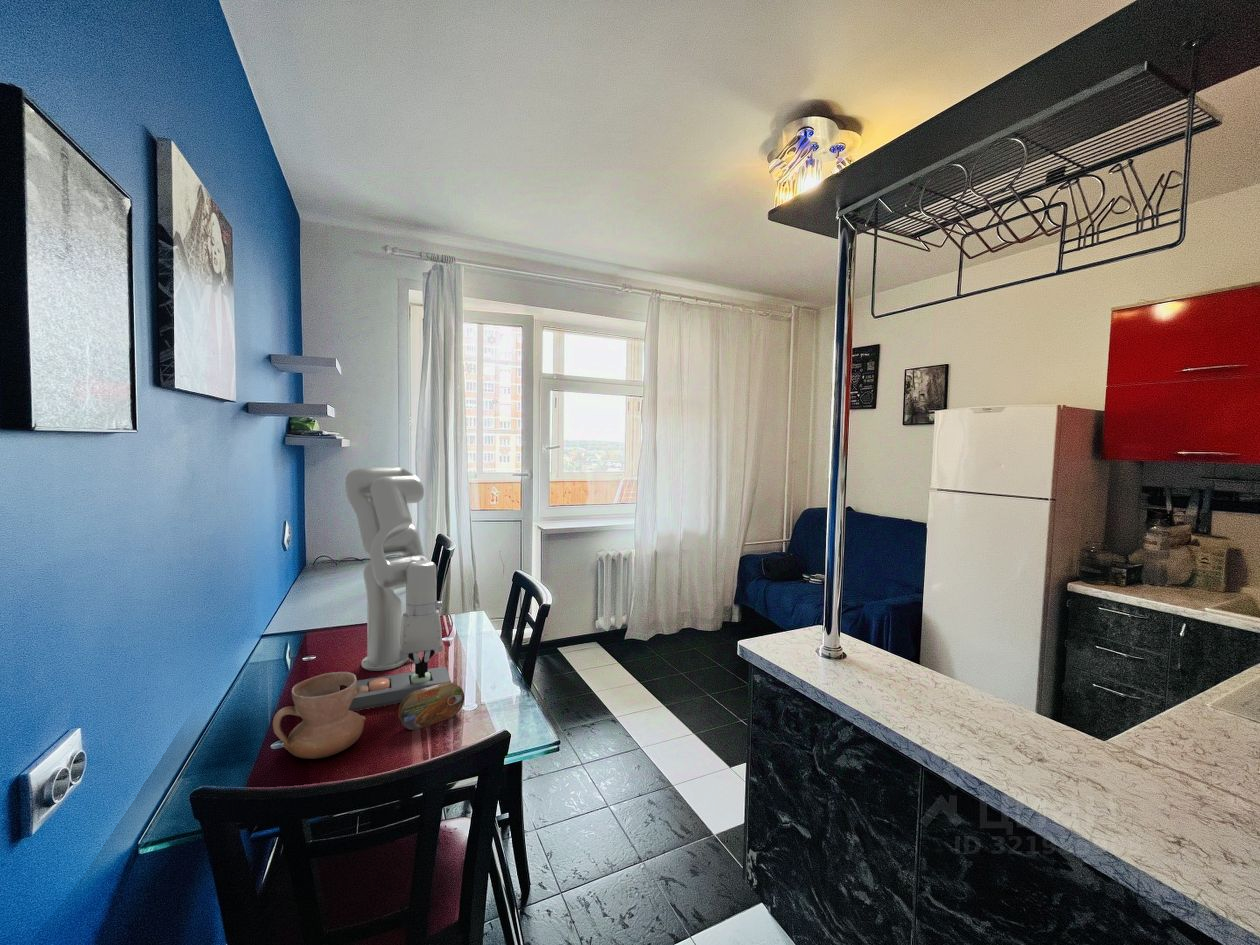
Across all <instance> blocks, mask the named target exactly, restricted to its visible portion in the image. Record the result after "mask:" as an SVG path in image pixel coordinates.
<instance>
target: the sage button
mask: <svg viewBox="0 0 1260 945" xmlns="http://www.w3.org/2000/svg"><path fill="white" fill-rule="evenodd" d="M427 681H430V673H429V672H426V673H425V677H421V678H419V677H418V674H415V673H414V674H412V676H411V684H416V683H422V682H427Z"/></svg>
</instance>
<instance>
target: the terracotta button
mask: <svg viewBox="0 0 1260 945" xmlns="http://www.w3.org/2000/svg"><path fill="white" fill-rule="evenodd" d="M387 688H390V680H389V679H387V678H379V679H375V680H373V681H371V682H370V683H369V692H370V691H376V690H381V689H387Z"/></svg>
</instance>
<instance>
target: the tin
mask: <svg viewBox="0 0 1260 945" xmlns="http://www.w3.org/2000/svg"><path fill="white" fill-rule="evenodd" d="M464 702H465V692H464V690H463V688H462V686H460V685H457V684H456V683H454V682H452V681H451V682H444V683H441V684H437V685H434V686H430V687H427V688H423V689H420V690H416V691H413V692H411V693H410V694H408V695H407V696H406V697H405V698H404V699H403V700H402V702H401V703H400V704H399V706H398V711H397V714H398V718H399V721H400V722H401V724H402V726H403V727H405V728H406V729H407V730H412V731H414V730H415V731H416V730H420V729H423V728H425V727H426V728H427V727H429V726H431V725H434V724H438V723H440V722H443V721H446V720H449V719H451V718H454V716H456V715H458V713H459V712H460V711H461V709H462V708H463V706H464Z"/></svg>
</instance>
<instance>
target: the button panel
mask: <svg viewBox="0 0 1260 945" xmlns="http://www.w3.org/2000/svg"><path fill="white" fill-rule="evenodd" d="M428 672H429V673H430V681H427V682H422V683H416V684H411V676H412V674H414V673H415V670H414V671H409V672H403V673H402V672H401V673H396V674H389V675H384V676H378V677H370V678H366V679H359V680H357V685H356V688H358V687H360V686H368V688H369V683H370V682H371V681H373V680H375V679H379V678H387V679H389V680H390V688H387V689H381V690H376V691H370V692H369V689H368V692H367V693H365V692H362V693H360V694H358V695H357V696H355V697H354V698H353V700H352V702H351V705H350V707H349V709H348V710H350V711H357V710H360V709H361V710H362V709H366V708H372V707H378V706H384V705H389V706H391V705H390V704H394V705H396V704H395V703H399V702H400V704H401V702H402V700H403V699H404V698H405V697H406V696H407V695H408V694H410V693H411V692H413V691H416V690H420V689H423V688H427V687H430V686H434V685H437V684H441V683H444V682H452V680H451V678H450V675H449V672H448V669H447V666H446V665H445V666H438V667H433V668H428ZM384 707H385V706H384ZM378 708H379V707H378ZM362 711H363V710H362ZM357 712H358V711H357Z"/></svg>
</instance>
